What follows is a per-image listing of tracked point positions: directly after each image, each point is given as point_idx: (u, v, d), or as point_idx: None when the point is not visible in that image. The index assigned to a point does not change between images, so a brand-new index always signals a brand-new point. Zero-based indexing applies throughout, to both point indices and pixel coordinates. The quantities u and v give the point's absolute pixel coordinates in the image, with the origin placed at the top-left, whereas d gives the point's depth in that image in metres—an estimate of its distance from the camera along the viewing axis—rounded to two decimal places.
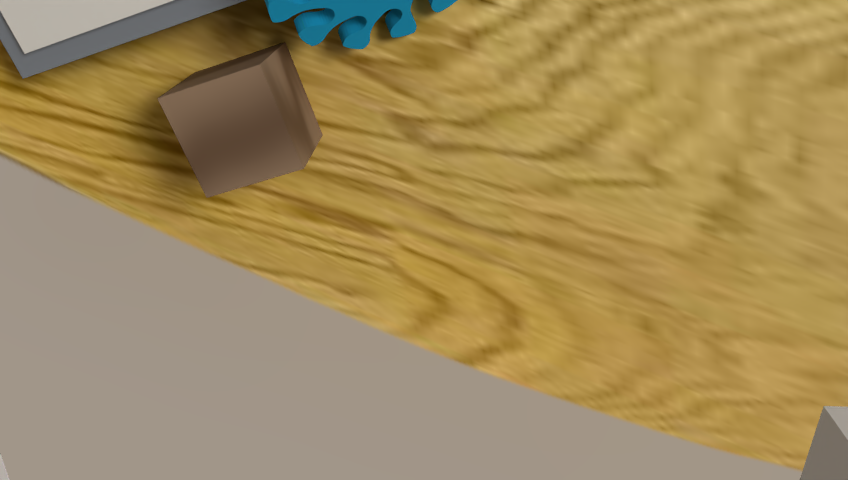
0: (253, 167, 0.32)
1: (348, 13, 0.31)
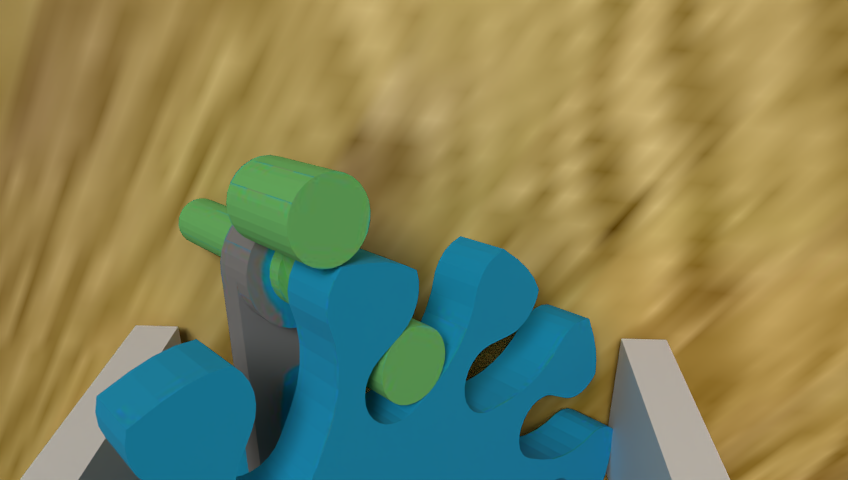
0: None
1: None
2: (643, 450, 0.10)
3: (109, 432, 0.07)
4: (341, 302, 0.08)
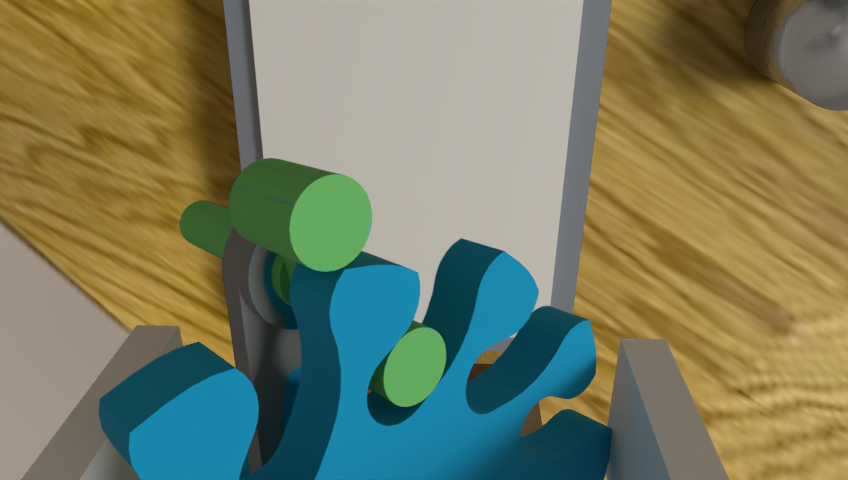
0: None
1: None
2: (642, 450, 0.10)
3: (113, 435, 0.07)
4: (343, 305, 0.08)
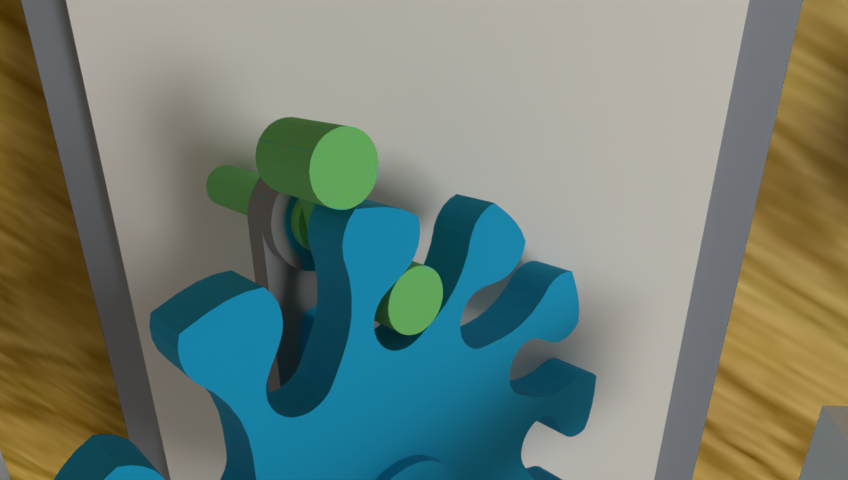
0: None
1: None
2: None
3: (162, 340, 0.08)
4: (353, 240, 0.09)
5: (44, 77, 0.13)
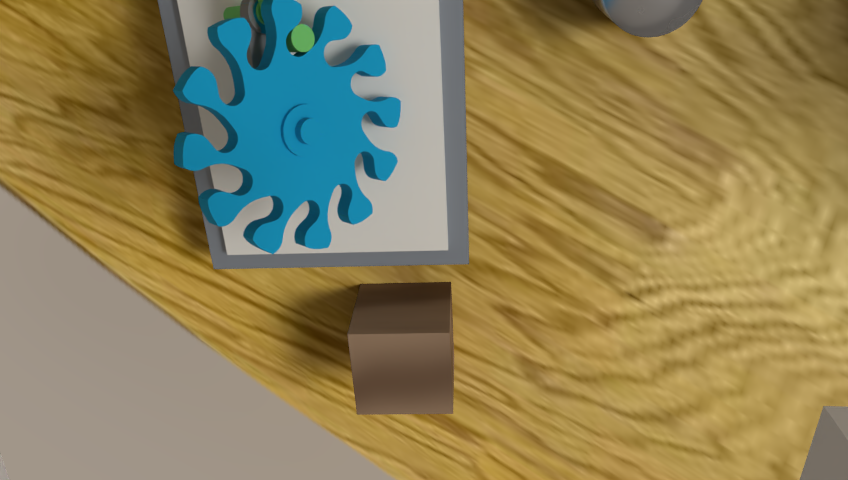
0: (409, 402, 0.36)
1: (348, 169, 0.29)
2: None
3: (212, 33, 0.25)
4: (275, 8, 0.26)
5: None
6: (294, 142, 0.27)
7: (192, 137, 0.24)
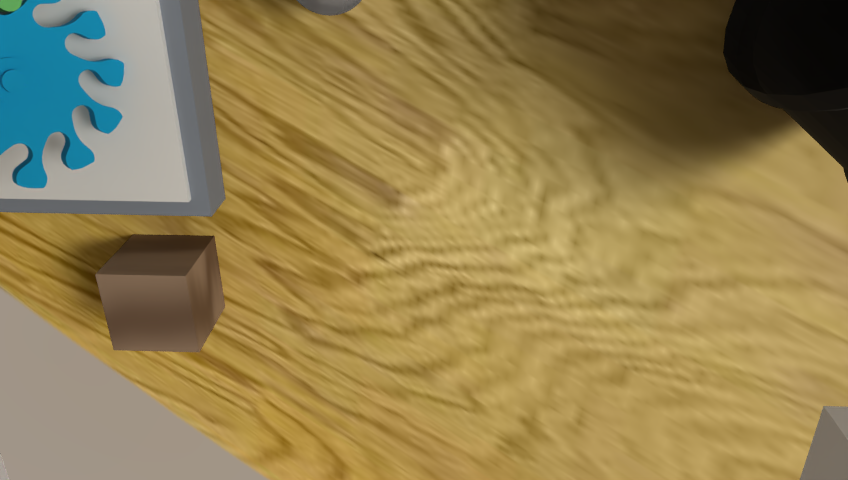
0: (158, 340, 0.40)
1: (65, 119, 0.33)
2: None
3: None
4: None
5: None
6: None
7: None
